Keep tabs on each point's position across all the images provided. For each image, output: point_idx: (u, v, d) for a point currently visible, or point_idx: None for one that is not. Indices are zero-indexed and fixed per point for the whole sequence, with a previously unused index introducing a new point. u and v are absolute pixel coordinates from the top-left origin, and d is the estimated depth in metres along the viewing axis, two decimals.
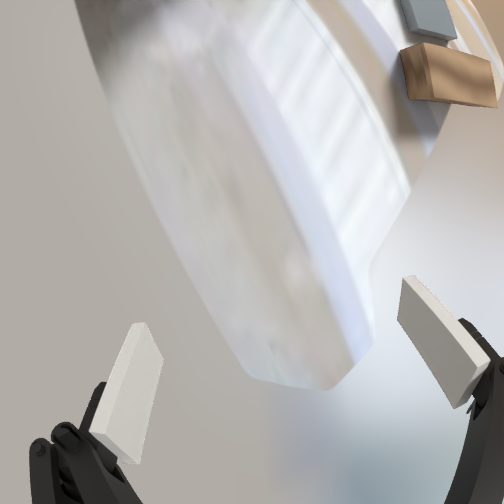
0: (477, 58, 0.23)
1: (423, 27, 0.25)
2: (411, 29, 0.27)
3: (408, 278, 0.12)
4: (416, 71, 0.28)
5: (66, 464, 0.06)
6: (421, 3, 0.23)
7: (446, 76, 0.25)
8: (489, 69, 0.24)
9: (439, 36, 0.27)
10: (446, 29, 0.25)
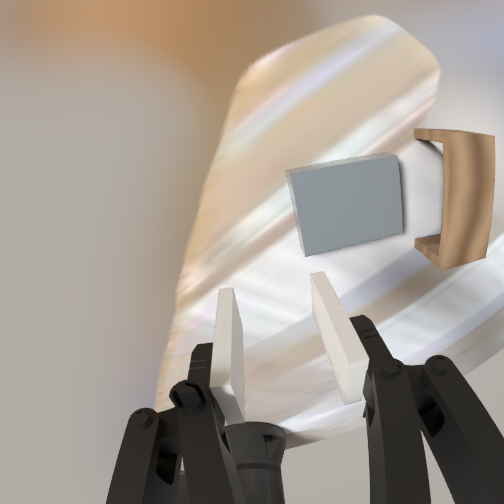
0: (452, 167, 0.22)
1: (399, 224, 0.29)
2: None
3: (315, 274, 0.14)
4: None
5: (179, 430, 0.08)
6: (360, 221, 0.28)
7: (473, 239, 0.25)
8: (459, 139, 0.21)
9: None
10: (390, 177, 0.27)
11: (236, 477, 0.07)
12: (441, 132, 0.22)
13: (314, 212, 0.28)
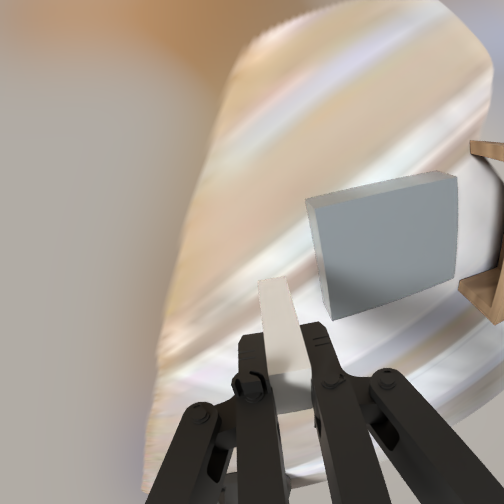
0: None
1: (451, 267, 0.20)
2: None
3: (276, 279, 0.15)
4: None
5: None
6: (406, 270, 0.19)
7: None
8: None
9: None
10: (447, 208, 0.17)
11: (284, 471, 0.07)
12: None
13: (348, 262, 0.19)
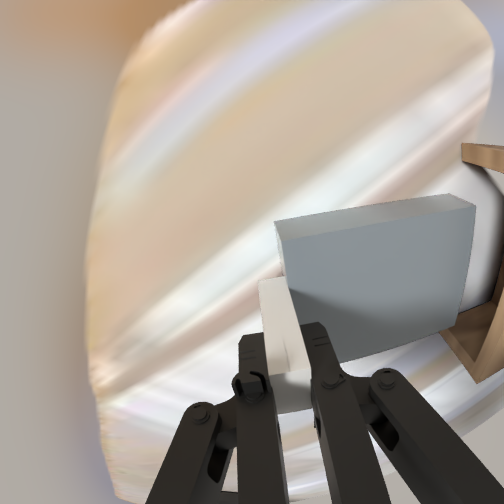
0: None
1: (453, 314, 0.16)
2: None
3: (276, 279, 0.15)
4: None
5: None
6: (399, 318, 0.15)
7: None
8: None
9: None
10: (459, 245, 0.13)
11: (284, 471, 0.07)
12: None
13: (323, 309, 0.14)
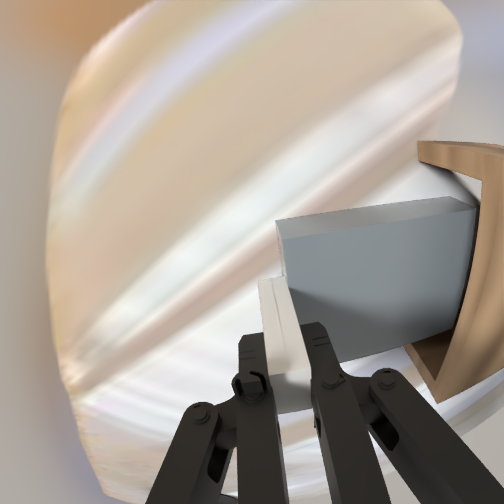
0: (497, 241, 0.09)
1: (452, 317, 0.16)
2: None
3: (276, 279, 0.15)
4: None
5: None
6: (397, 320, 0.15)
7: (499, 350, 0.12)
8: None
9: None
10: (459, 247, 0.13)
11: (284, 471, 0.07)
12: (480, 156, 0.08)
13: (323, 309, 0.14)
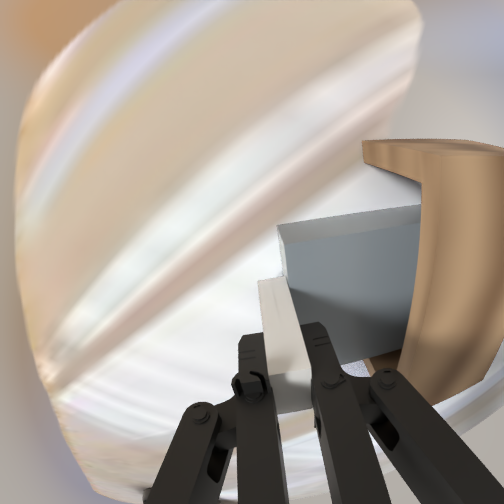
0: (441, 254, 0.09)
1: None
2: None
3: (276, 279, 0.15)
4: None
5: None
6: (397, 323, 0.15)
7: (464, 368, 0.12)
8: (470, 175, 0.07)
9: None
10: None
11: (284, 471, 0.07)
12: (418, 153, 0.08)
13: (324, 312, 0.15)
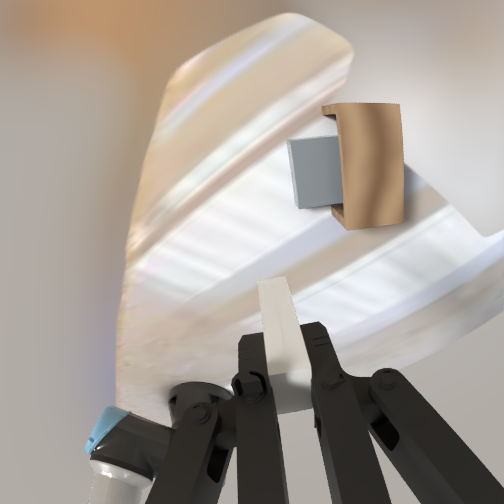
0: (344, 133, 0.28)
1: None
2: None
3: (276, 279, 0.15)
4: None
5: None
6: None
7: (381, 202, 0.32)
8: (351, 108, 0.27)
9: None
10: None
11: (284, 471, 0.07)
12: (334, 104, 0.28)
13: (307, 172, 0.34)
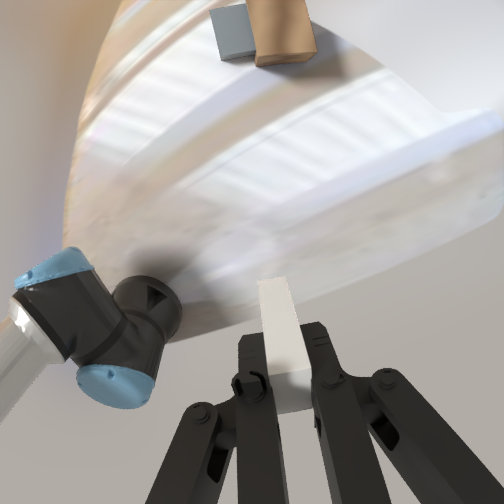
0: None
1: None
2: None
3: (276, 279, 0.15)
4: (284, 58, 0.34)
5: None
6: None
7: (289, 33, 0.29)
8: None
9: None
10: None
11: (284, 471, 0.07)
12: None
13: (225, 29, 0.32)
